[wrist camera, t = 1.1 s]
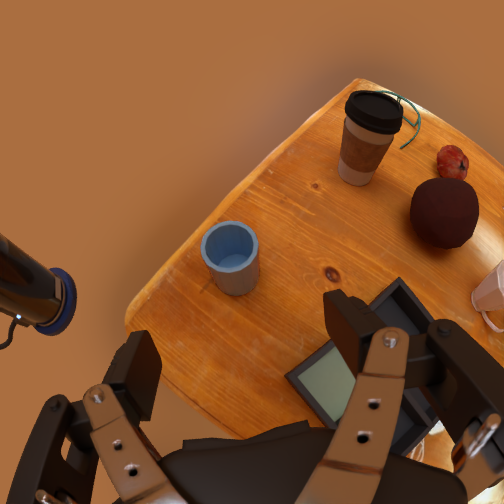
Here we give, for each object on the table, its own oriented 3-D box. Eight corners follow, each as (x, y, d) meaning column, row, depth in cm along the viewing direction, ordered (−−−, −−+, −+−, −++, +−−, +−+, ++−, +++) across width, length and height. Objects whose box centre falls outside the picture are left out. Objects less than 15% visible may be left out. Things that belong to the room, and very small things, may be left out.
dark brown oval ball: (386, 208, 39) (411, 164, 30) (440, 198, 40) (466, 161, 30) (415, 270, 34) (453, 236, 25) (467, 251, 35) (502, 220, 26)
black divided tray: (366, 471, 22) (377, 481, 19) (283, 375, 29) (286, 375, 26) (455, 376, 27) (472, 374, 23) (386, 287, 33) (399, 276, 30)
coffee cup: (382, 193, 40) (415, 124, 27) (334, 190, 41) (356, 114, 27) (370, 158, 44) (393, 91, 30) (326, 154, 44) (341, 82, 31)
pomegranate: (423, 167, 46) (441, 175, 37) (434, 137, 42) (454, 140, 34) (449, 182, 45) (469, 193, 37) (459, 153, 42) (482, 159, 33)
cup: (484, 276, 33) (513, 255, 25) (499, 330, 28) (530, 317, 21) (460, 284, 32) (491, 263, 25) (475, 343, 28) (510, 332, 21)
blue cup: (230, 304, 33) (220, 283, 26) (205, 269, 36) (190, 240, 29) (268, 278, 35) (269, 250, 28) (242, 245, 37) (236, 211, 30)
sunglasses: (420, 124, 49) (427, 109, 45) (406, 158, 46) (414, 142, 41) (370, 97, 54) (373, 82, 49) (347, 127, 50) (351, 109, 45)
